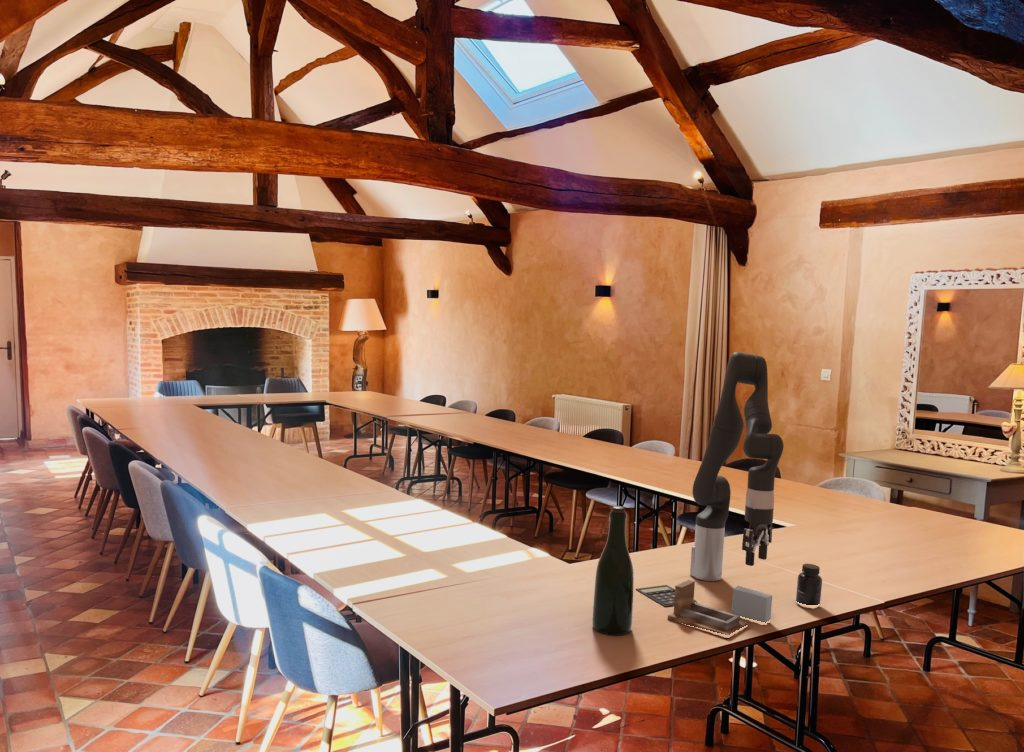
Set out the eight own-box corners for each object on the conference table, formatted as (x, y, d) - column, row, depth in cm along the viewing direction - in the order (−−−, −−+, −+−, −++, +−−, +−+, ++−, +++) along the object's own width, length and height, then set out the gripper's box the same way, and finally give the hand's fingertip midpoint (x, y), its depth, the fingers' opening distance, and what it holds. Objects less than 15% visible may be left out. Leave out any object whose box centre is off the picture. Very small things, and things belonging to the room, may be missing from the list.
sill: (667, 619, 214) (669, 587, 214) (688, 608, 223) (690, 577, 223) (727, 639, 202) (730, 605, 202) (747, 627, 211) (750, 594, 211)
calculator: (665, 605, 224) (635, 588, 237) (664, 608, 224) (635, 591, 237) (697, 600, 229) (666, 584, 242) (697, 603, 229) (666, 587, 242)
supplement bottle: (792, 605, 230) (795, 565, 229) (799, 599, 235) (802, 560, 234) (816, 611, 226) (819, 571, 225) (823, 605, 231) (826, 566, 230)
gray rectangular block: (731, 616, 219) (732, 588, 219) (736, 613, 222) (738, 585, 221) (765, 626, 213) (767, 598, 212) (770, 623, 215) (772, 595, 215)
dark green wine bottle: (627, 621, 212) (634, 502, 209) (634, 637, 201) (642, 512, 199) (589, 620, 211) (595, 501, 209) (594, 635, 201) (601, 511, 198)
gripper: (757, 498, 223) (753, 554, 224) (735, 506, 212) (732, 564, 213) (782, 503, 218) (779, 560, 219) (761, 511, 207) (758, 570, 208)
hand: (756, 562), depth 216 cm, fingers open, 8 cm apart
